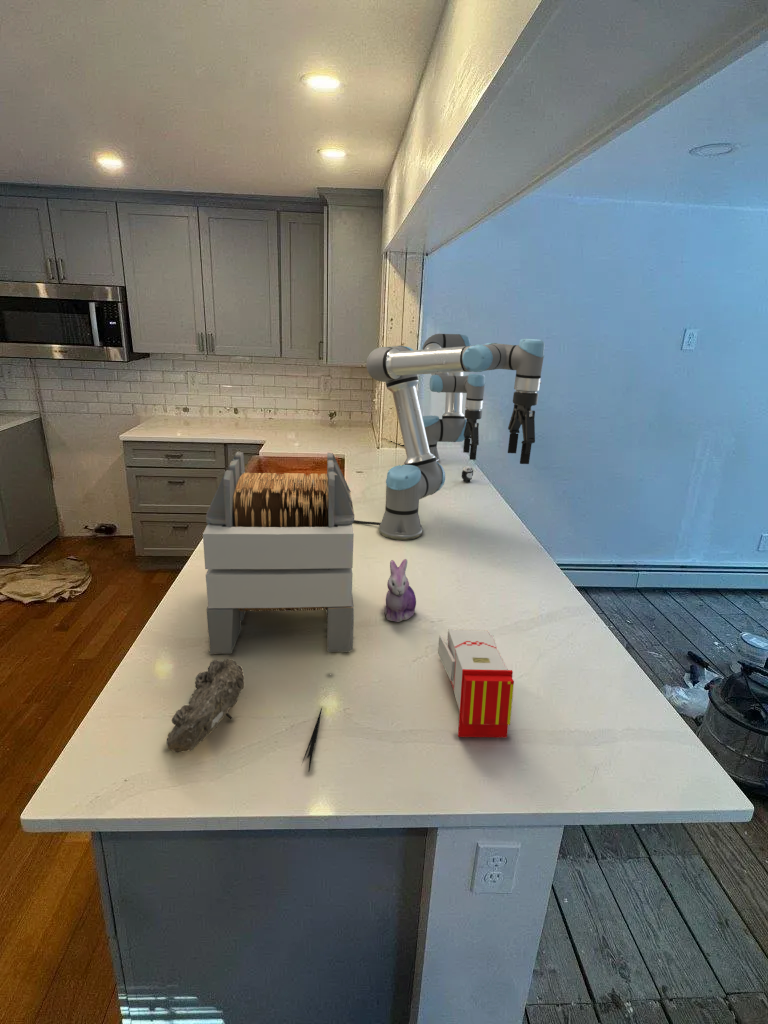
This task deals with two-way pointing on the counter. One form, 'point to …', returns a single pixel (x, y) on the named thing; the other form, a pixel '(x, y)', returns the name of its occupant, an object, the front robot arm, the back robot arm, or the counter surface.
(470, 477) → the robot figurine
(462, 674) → the toy
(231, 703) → the fossil
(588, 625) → the counter surface
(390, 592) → the figurine
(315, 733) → the feather
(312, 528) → the grey box with legs
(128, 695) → the counter surface
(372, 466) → the counter surface
